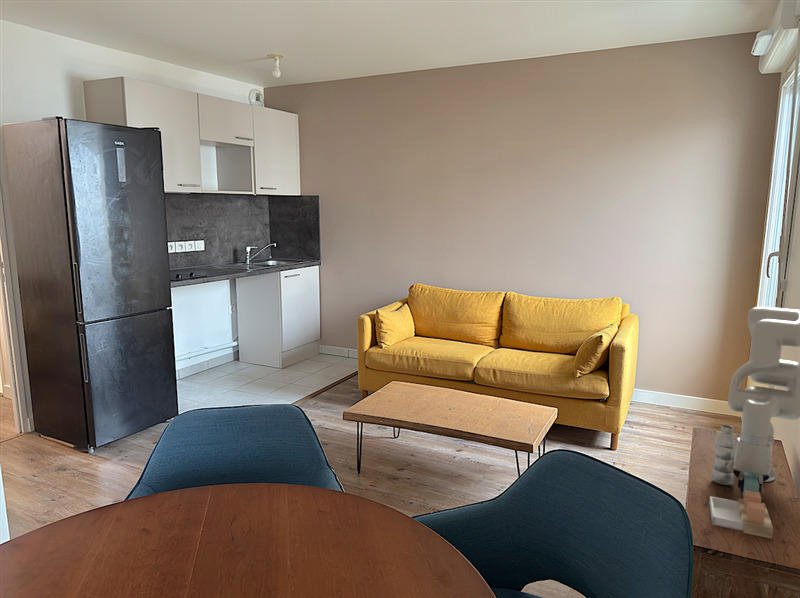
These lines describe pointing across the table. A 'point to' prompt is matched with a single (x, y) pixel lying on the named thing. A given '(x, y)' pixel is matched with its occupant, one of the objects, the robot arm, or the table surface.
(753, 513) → the peach cube
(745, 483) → the bar
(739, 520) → the tray
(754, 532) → the beige gold flat block
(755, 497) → the tan cube
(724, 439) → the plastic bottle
